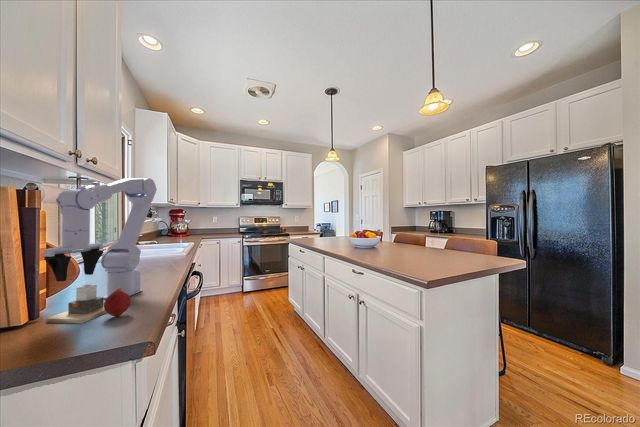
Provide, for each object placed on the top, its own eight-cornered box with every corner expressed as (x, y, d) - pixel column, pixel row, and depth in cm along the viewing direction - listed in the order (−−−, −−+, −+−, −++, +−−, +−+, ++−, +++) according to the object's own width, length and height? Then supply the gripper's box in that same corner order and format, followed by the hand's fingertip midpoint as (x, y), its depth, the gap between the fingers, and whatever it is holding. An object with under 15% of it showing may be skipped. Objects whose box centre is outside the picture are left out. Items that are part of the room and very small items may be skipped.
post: (86, 307, 73) (86, 284, 73) (96, 307, 73) (96, 284, 73) (76, 311, 70) (76, 287, 70) (86, 311, 70) (86, 287, 70)
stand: (90, 305, 78) (90, 293, 78) (120, 306, 77) (120, 293, 77) (46, 322, 66) (46, 307, 66) (81, 323, 65) (82, 308, 65)
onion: (115, 321, 66) (115, 292, 66) (98, 319, 67) (98, 290, 67) (135, 313, 72) (135, 285, 72) (119, 311, 73) (119, 284, 73)
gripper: (88, 229, 79) (88, 271, 79) (33, 232, 65) (32, 284, 65) (109, 229, 79) (108, 272, 79) (58, 232, 64) (57, 284, 64)
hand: (75, 277), depth 72 cm, fingers open, 7 cm apart
